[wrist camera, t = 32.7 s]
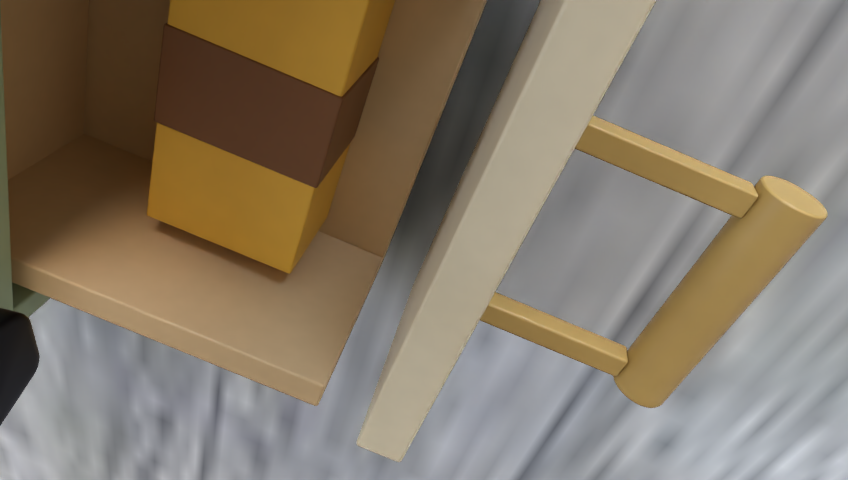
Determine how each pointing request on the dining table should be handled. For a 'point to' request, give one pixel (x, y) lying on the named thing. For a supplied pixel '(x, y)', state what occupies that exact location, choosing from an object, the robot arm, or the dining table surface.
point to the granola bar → (259, 117)
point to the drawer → (361, 206)
